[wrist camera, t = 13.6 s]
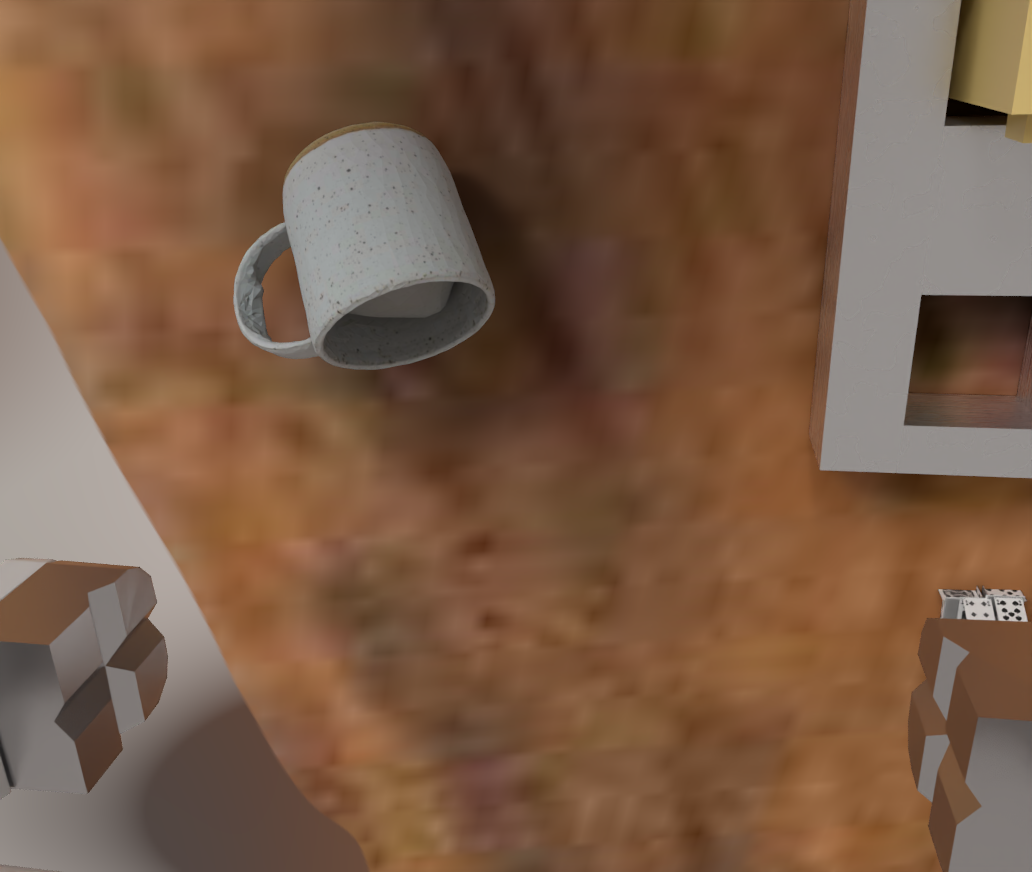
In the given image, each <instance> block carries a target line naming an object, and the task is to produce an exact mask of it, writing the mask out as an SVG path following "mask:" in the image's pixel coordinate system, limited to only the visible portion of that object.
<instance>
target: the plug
mask: <svg viewBox="0 0 1032 872" xmlns="http://www.w3.org/2000/svg"><path fill="white" fill-rule="evenodd" d="M948 98H952V99H955V100H959V101H963V102H966V103H970V104H974V105H978V106H981V107H985V108H989V109H993V110H996V111H1000V112H1004V113H1007V114H1008V118H1007V125H1006V131H1005V137H1006V138H1009V139H1012V140H1015V141H1018V142H1021V143H1032V0H961V6H960V13H959V21H958V28H957V35H956V43H955V50H954V58H953V65H952V72H951V80H950V87H949V94H948Z"/></svg>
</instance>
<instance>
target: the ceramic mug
mask: <svg viewBox="0 0 1032 872" xmlns="http://www.w3.org/2000/svg"><path fill="white" fill-rule="evenodd" d="M283 212H284V218H285V223H280V224H279V225H277V226H276V227H274V228H271V229H270V230H269V231H268V232H266V233H265V234H263V235H262V236H261V237H260V238H259V239H258V240H257V241H256V242H255V243H254V244H253V245H252V246H251V247H250V248H249V249H248V251H247V252H246V253H245V255H244V257H243V260H242V262H241V264H240V266H239V269H238V271H237V274H236V277H235V283H234V297H233V300H234V309H235V314H236V318H237V321H238V324H239V327H240V329H241V331H242V333H243V335H244V336H245V337H246V338H247V339H248V340H249V341H250V342H251V343H252V344H254V345H256V346H258V347H259V348H261V349H263V350H265V351H268V352H271V353H273V354H275V355H278V356H281V357H285V358H291V359H304V358H311V357H316V356H320V357H321V358H322V359H323V360H324V361H326V362H327V363H329V364H331V365H334V366H338V367H341V368H349V369H355V370H358V369H366V370H374V369H384V368H389V367H395V366H399V365H405V364H410V363H414V362H417V361H420V360H423V359H426V358H429V357H432V356H435V355H437V354H439V353H441V352H444V351H447V350H449V349H451V348H453V347H454V346H456V345H457V344H459V343H461V342H463V341H464V340H466V339H467V338H469V337H470V336H472V335H473V334H474V333H476V332H477V331H478V330H479V329H480V328H481V327H482V326H483V325H484V324H485V322H486V321H487V320H488V319H489V317H490V316H491V314H492V312H493V309H494V306H495V291H494V288H493V284H492V282H491V279H490V276H489V274H488V272H487V269H486V267H485V264H484V262H483V259H482V256H481V253H480V250H479V247H478V245H477V242H476V239H475V236H474V234H473V231H472V229H471V226H470V223H469V221H468V219H467V216H466V214H465V211H464V209H463V206H462V203H461V201H460V198H459V195H458V192H457V189H456V186H455V183H454V181H453V178H452V175H451V173H450V171H449V169H448V167H447V165H446V163H445V162H444V160H443V158H442V157H441V155H440V153H439V151H438V150H437V148H436V147H435V146H434V145H433V143H432V142H431V141H430V140H429V139H428V138H426V137H425V136H424V135H423V134H422V133H420V132H418V131H416V130H414V129H412V128H410V127H407V126H403V125H400V124H393V123H386V122H370V123H362V124H356V125H350V126H347V127H344V128H341V129H338V130H335V131H332V132H330V133H328V134H326V135H324V136H322V137H320V138H319V139H317V140H316V141H314V142H312V143H311V144H310V145H309V146H307V147H306V148H305V149H304V150H303V151H302V152H301V153H300V154H299V155H298V156H297V157H296V158H295V160H294V161H293V162H292V164H291V165H290V167H289V169H288V171H287V173H286V175H285V179H284V184H283ZM289 247H291V248H292V252H293V255H294V259H295V263H296V268H297V273H298V279H299V284H300V289H301V294H302V298H303V302H304V306H305V311H306V316H307V321H308V327H309V332H310V336H311V337H310V338H308V339H306V340H303V341H294V342H287V343H277V342H272V340H271V338H270V337H269V336H268V334H267V329H266V324H265V317H264V311H263V302H262V296H263V292H264V290H263V287H262V285H261V283H262V280H263V278H264V275H265V274H266V272H267V270H268V269H269V267H270V265H271V264H272V262H273V261H274V260H275V259H276V258H277V257H279V256H280V255H281V254H282V252H283V251H285V250H286V249H288V248H289Z"/></svg>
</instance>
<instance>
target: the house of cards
mask: <svg viewBox="0 0 1032 872" xmlns="http://www.w3.org/2000/svg"><path fill="white" fill-rule="evenodd" d="M938 591H939V593H940V595H941V597H942V600H943V601H942V608H941V616H940V618H946V619H972V620H997V621H1023V622H1028V621H1027V616H1026V612H1025V608H1024V601H1027V600H1026V598H1025V596H1024V595H1023V593H1022V592H1021V590H999V589H985V588H984V586H983V587H982V593H981V592H980V591H979V589H978V587H976V591H972V590H946V589H938Z"/></svg>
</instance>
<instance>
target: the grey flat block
mask: <svg viewBox="0 0 1032 872" xmlns="http://www.w3.org/2000/svg"><path fill="white" fill-rule="evenodd" d="M960 6H961V0H850V7H849V17H848V28H847V38H846V49H845V59H844V70H843V80H842V91H841V101H840V112H839V123H838V133H837V144H836V154H835V165H834V175H833V186H832V196H831V207H830V217H829V228H828V238H827V249H826V260H825V270H824V281H823V291H822V302H821V312H820V323H819V333H818V344H817V354H816V365H815V375H814V386H813V397H812V407H811V418H810V428H809V437H810V440H811V443H812V446H813V450H814V453H815V456H816V460H817V463H818V466H819V470H830V471H856V472H882V473H908V474H934V475H960V476H986V477H1012V478H1032V314H1031V319H1030V325H1029V330H1028V336H1027V341H1026V347H1025V352H1024V358H1023V363H1022V369H1021V374H1020V380H1019V385H1018V391H1017V396H1000V395H961V394H923V393H908V389H909V382H910V375H911V367H912V360H913V353H914V345H915V338H916V330H917V323H918V316H919V308H920V301H921V295H981V296H1032V143H1021V142H1018V141H1015V140H1012V139H1009V138H1006V137H1005V131H1006V125H1007V118H1008V115H1003V116H946V109H947V102H948V94H949V87H950V80H951V72H952V65H953V58H954V50H955V43H956V35H957V28H958V21H959V13H960Z"/></svg>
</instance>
